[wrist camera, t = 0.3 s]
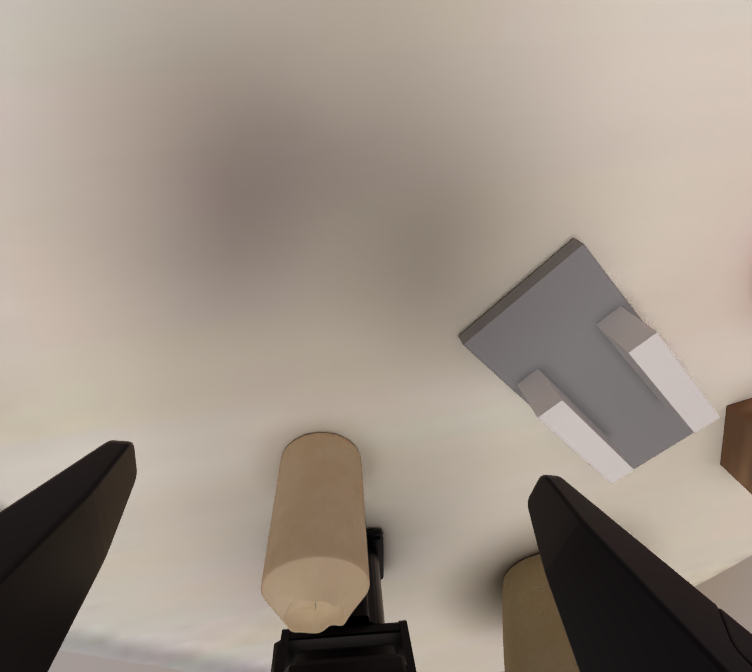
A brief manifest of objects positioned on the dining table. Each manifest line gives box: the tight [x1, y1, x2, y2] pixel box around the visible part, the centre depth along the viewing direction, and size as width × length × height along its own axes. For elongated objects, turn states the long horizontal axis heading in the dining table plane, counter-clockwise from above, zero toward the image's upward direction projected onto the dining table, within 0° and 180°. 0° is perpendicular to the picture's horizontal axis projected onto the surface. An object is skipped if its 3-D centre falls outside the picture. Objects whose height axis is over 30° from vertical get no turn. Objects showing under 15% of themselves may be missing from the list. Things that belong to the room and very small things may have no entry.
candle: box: [261, 433, 370, 633], centre depth 24 cm, size 6×6×10 cm
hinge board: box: [459, 238, 721, 484], centre depth 25 cm, size 8×18×4 cm, turn 46°
